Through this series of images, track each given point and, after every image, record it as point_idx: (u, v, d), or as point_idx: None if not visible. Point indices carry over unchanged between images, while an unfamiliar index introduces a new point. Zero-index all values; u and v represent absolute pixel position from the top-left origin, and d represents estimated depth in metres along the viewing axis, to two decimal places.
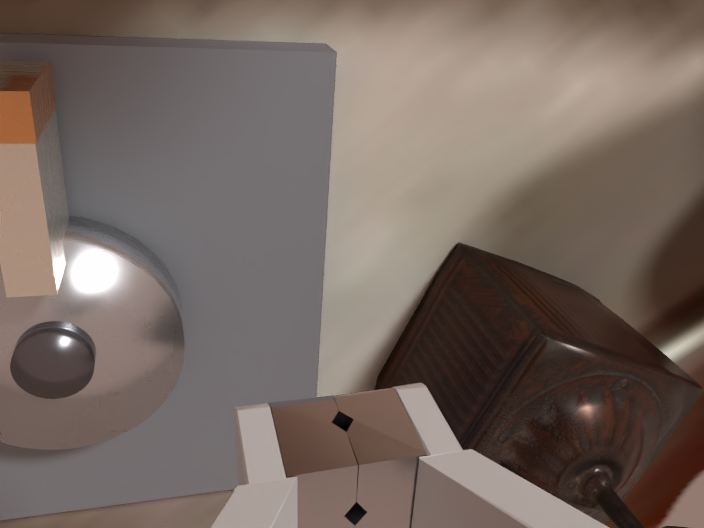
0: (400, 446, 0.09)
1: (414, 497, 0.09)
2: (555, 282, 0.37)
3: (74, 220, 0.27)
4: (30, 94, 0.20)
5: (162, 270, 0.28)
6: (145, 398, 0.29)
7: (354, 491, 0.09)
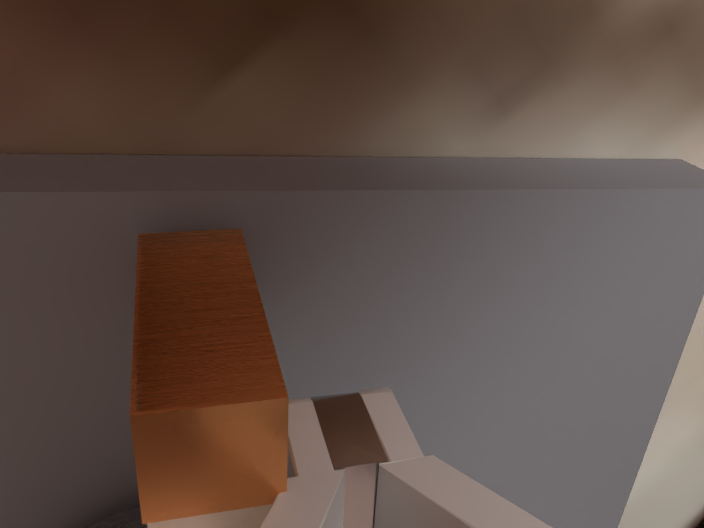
0: (361, 452, 0.09)
1: (375, 504, 0.09)
2: None
3: None
4: None
5: None
6: None
7: None
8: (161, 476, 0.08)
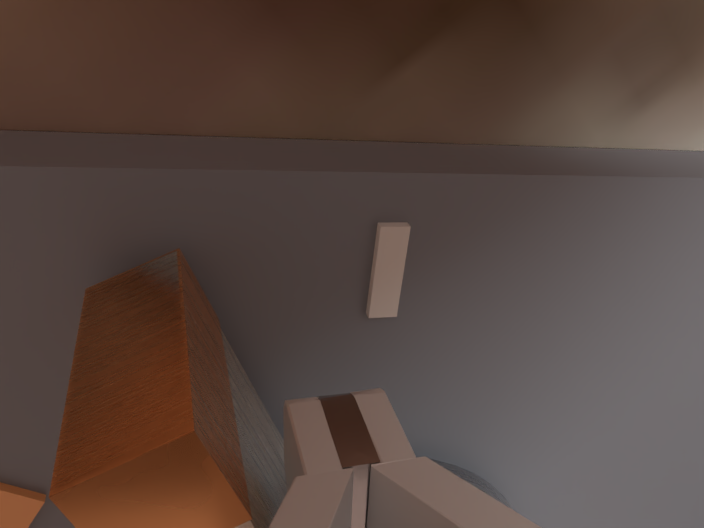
0: (353, 453, 0.09)
1: (368, 505, 0.09)
2: None
3: None
4: (198, 429, 0.08)
5: None
6: None
7: None
8: None
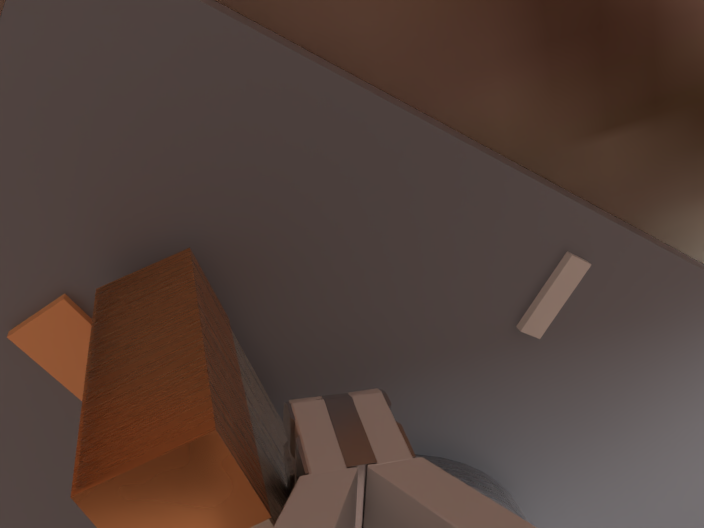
0: (349, 454, 0.09)
1: (364, 506, 0.09)
2: None
3: None
4: (219, 428, 0.08)
5: (490, 493, 0.15)
6: None
7: None
8: None
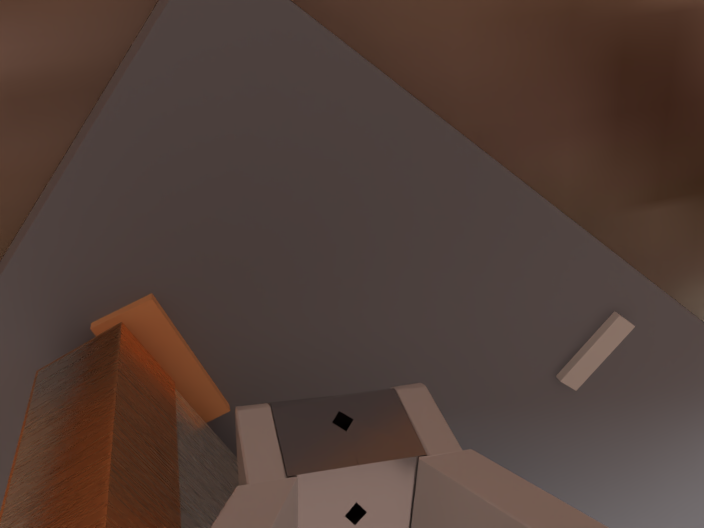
0: (400, 446, 0.09)
1: (414, 498, 0.09)
2: None
3: None
4: None
5: None
6: None
7: (354, 491, 0.09)
8: None
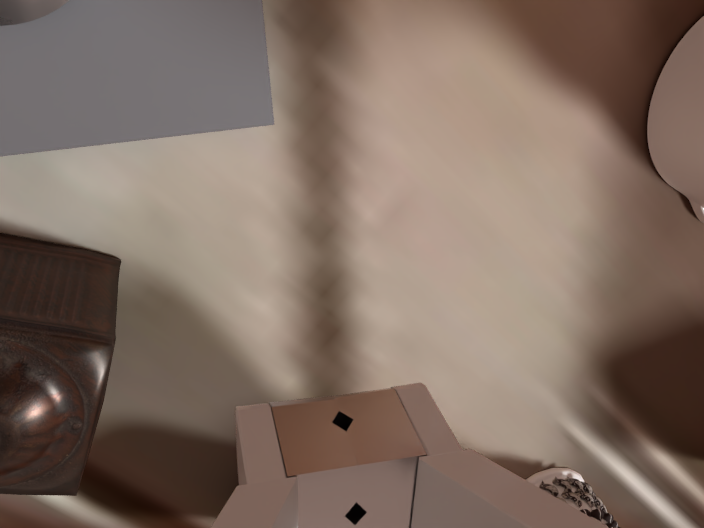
0: (400, 446, 0.09)
1: (414, 497, 0.09)
2: None
3: None
4: None
5: None
6: None
7: (354, 491, 0.09)
8: None
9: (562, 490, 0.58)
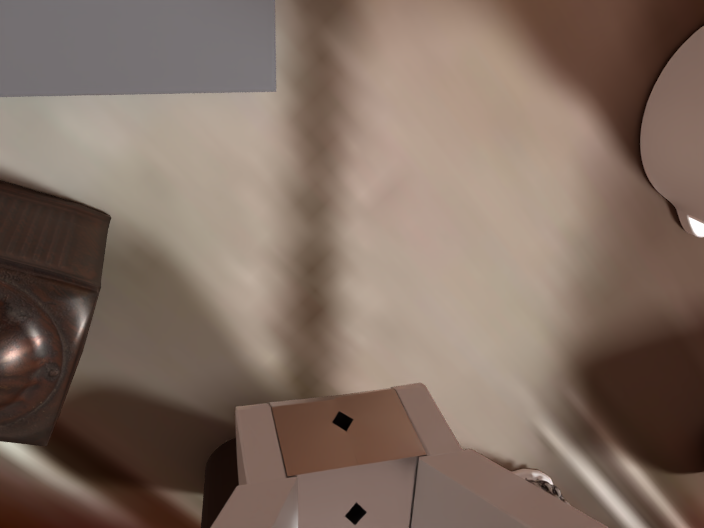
0: (400, 446, 0.09)
1: (414, 497, 0.09)
2: None
3: None
4: None
5: None
6: None
7: (354, 491, 0.09)
8: None
9: None
